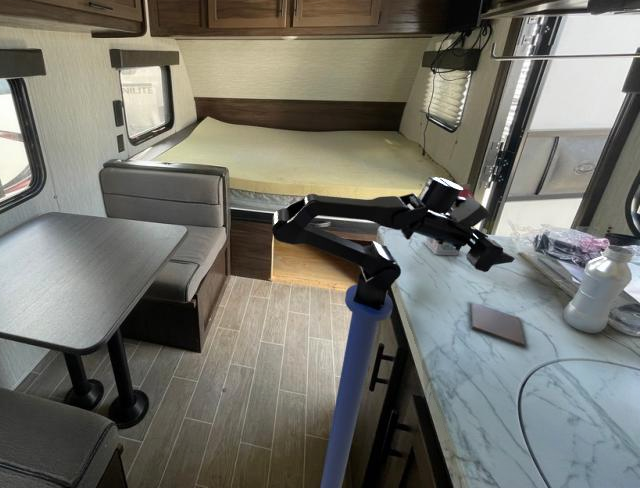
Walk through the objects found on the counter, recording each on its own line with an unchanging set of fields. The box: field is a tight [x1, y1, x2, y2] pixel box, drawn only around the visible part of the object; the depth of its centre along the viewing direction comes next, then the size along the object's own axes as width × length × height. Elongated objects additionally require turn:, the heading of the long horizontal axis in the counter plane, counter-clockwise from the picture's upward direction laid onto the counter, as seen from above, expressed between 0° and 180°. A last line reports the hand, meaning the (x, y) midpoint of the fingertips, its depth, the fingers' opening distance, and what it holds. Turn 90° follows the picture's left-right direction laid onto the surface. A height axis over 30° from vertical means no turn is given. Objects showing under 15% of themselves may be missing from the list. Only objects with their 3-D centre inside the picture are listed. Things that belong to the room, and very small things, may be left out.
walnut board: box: [470, 302, 526, 348], centre depth 72 cm, size 9×9×1 cm
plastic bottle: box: [562, 244, 635, 334], centre depth 68 cm, size 6×7×20 cm
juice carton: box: [424, 183, 476, 256], centre depth 97 cm, size 7×7×22 cm
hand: (499, 248), depth 73 cm, fingers open, 9 cm apart
